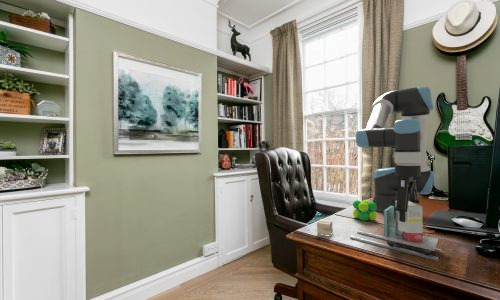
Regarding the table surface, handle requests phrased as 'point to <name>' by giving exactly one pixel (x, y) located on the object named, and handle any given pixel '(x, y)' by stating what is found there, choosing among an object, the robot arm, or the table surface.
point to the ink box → (412, 223)
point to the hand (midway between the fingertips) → (407, 225)
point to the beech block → (324, 227)
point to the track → (394, 246)
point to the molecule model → (364, 210)
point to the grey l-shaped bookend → (393, 237)
